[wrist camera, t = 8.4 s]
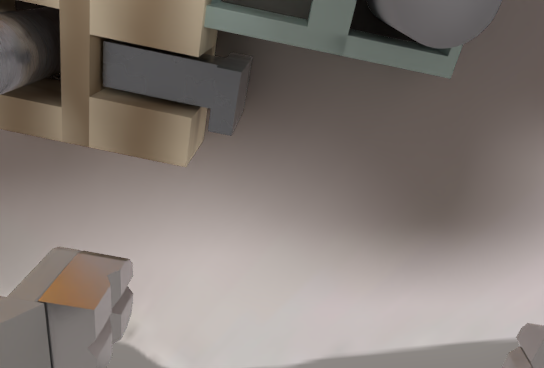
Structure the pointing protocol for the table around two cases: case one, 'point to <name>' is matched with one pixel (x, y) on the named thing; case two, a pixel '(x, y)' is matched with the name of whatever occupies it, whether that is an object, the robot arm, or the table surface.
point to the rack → (362, 45)
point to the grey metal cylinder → (28, 47)
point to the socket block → (107, 101)
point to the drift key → (181, 79)
